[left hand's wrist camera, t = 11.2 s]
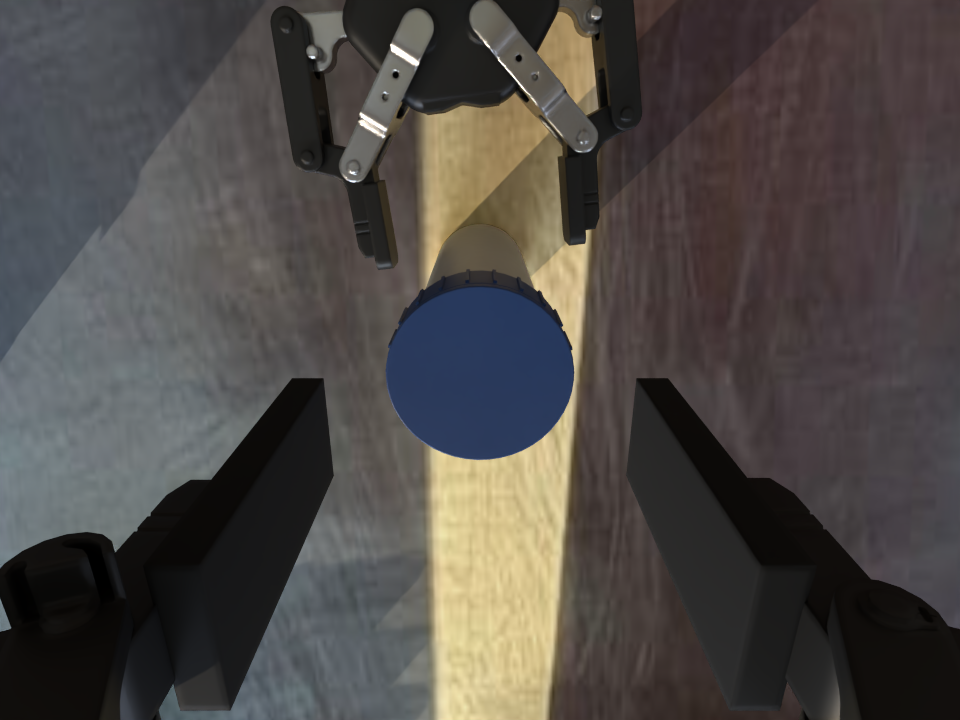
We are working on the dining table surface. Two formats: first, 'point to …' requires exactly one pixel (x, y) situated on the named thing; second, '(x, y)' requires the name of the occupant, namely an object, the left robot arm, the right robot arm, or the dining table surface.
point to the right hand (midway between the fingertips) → (480, 254)
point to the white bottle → (479, 254)
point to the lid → (479, 366)
